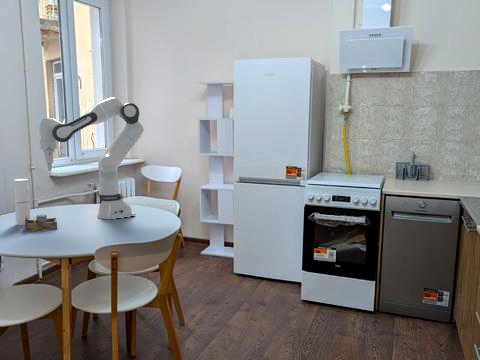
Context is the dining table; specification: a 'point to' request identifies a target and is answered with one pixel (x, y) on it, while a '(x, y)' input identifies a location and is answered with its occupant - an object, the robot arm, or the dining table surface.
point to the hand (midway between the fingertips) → (49, 169)
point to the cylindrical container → (21, 200)
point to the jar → (41, 218)
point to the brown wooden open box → (40, 225)
